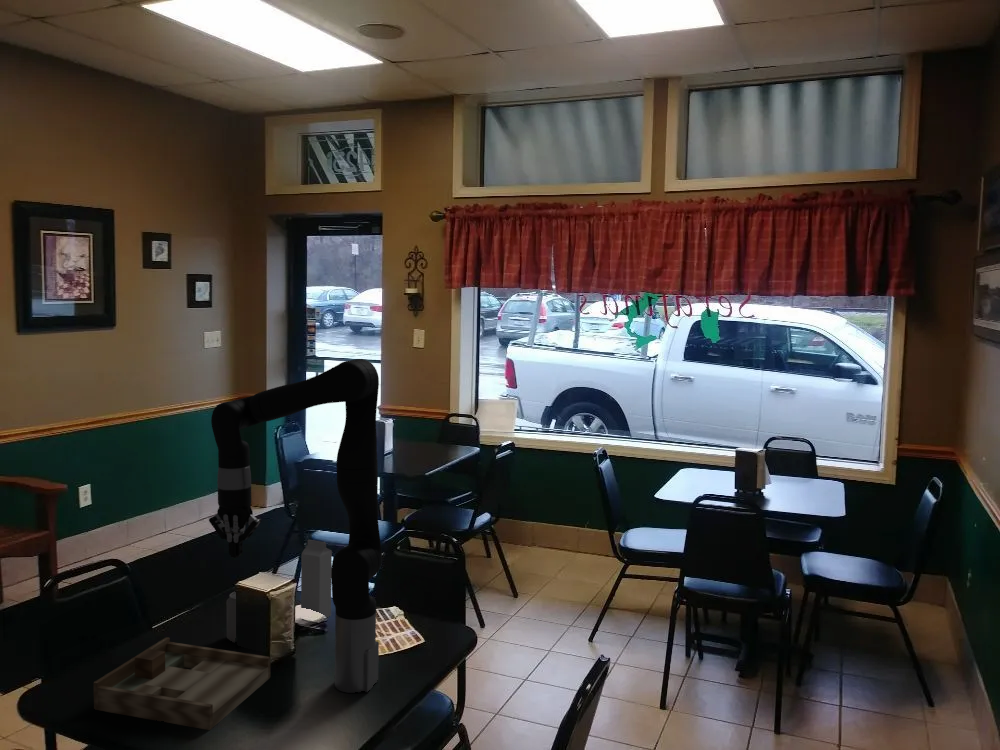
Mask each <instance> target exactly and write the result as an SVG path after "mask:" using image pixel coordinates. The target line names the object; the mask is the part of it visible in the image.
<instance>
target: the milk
mask: <svg viewBox="0 0 1000 750" xmlns="http://www.w3.org/2000/svg"><path fill="white" fill-rule="evenodd" d="M332 552H333V551H332V550H331V549H329V548H327V543H326V542H325V541H321V540H314V539H307V545H306V546H305V547H304V549H303V551H302V552H301V555H300V556H301V559H300V561H301V564H300V565H301V567H300V568H301V569H300V570H301V576H300V578H301V580H300V582H301V583H300V609H301V608H306V609H311V610H313V611H316V612H319V613H321V614H323V615H325V616H326V617H328V618H330V617H331V616H332V579H331V569H332V562H333V559H332V557H333V556H332V554H333V553H332ZM329 616H330V617H329Z"/></svg>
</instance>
